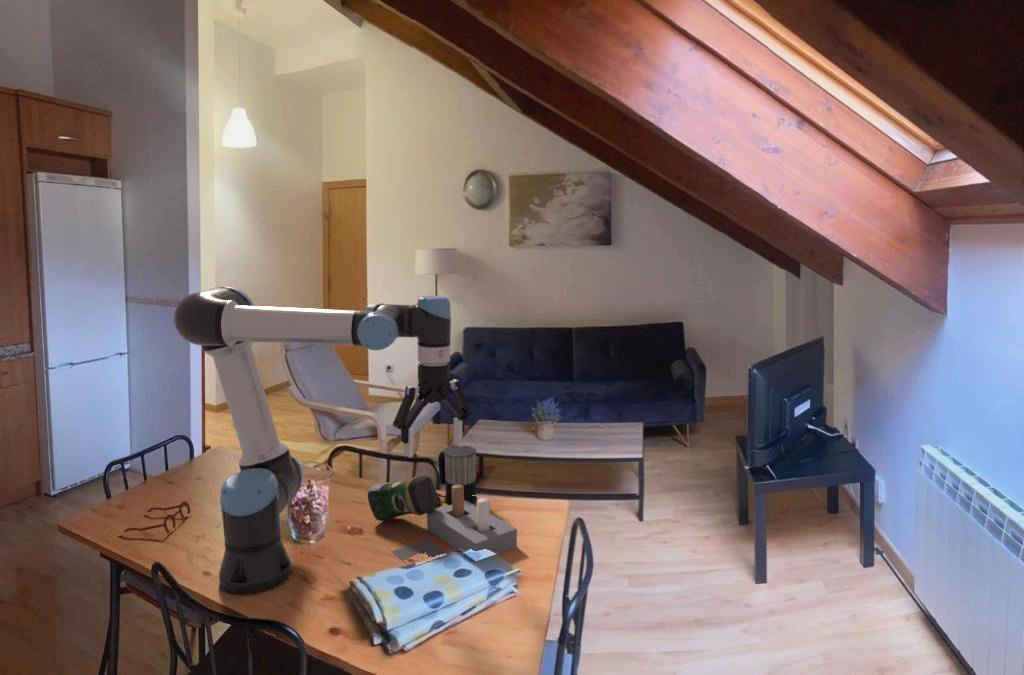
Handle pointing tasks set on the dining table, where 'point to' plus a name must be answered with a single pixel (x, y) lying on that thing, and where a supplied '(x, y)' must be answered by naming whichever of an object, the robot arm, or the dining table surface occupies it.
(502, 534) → the block
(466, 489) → the milk frother
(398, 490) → the coffee jar
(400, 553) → the mat
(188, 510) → the glasses
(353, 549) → the dining table surface
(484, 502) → the peg
